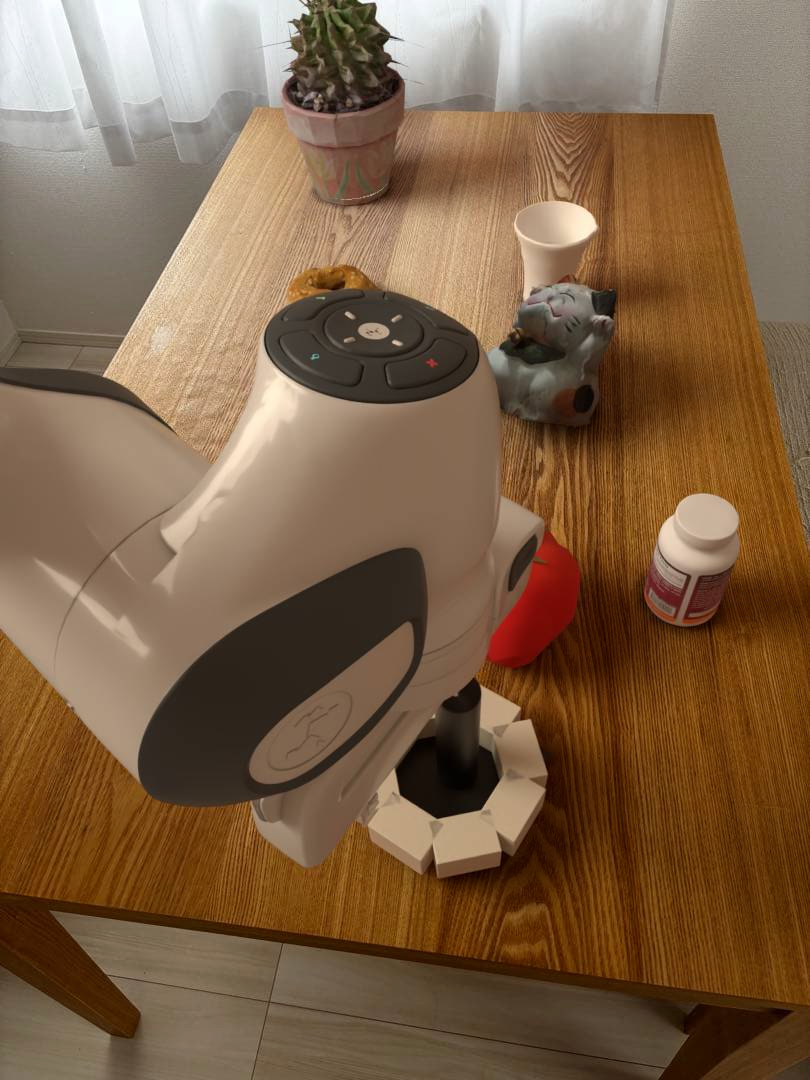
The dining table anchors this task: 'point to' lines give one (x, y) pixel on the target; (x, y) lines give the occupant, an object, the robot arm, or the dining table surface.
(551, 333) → the lucky cat figurine
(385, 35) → the potted plant
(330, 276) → the bagel
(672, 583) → the pill bottle
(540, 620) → the tomato
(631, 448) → the dining table surface
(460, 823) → the ring
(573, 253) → the cup
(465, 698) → the post
